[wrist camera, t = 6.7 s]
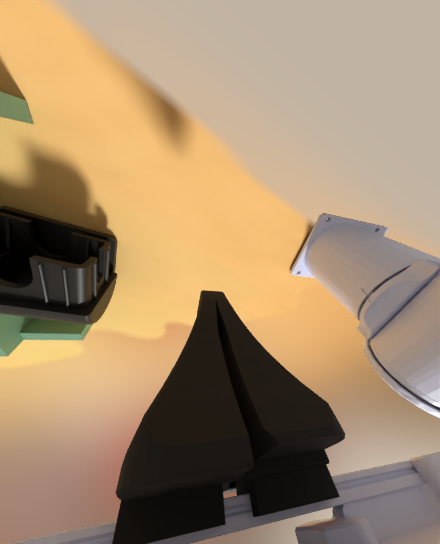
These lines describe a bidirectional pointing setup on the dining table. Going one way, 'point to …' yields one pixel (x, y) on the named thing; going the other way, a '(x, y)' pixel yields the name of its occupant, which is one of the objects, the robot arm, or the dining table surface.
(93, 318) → the black plastic holder
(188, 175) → the dining table surface
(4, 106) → the putting pocket
